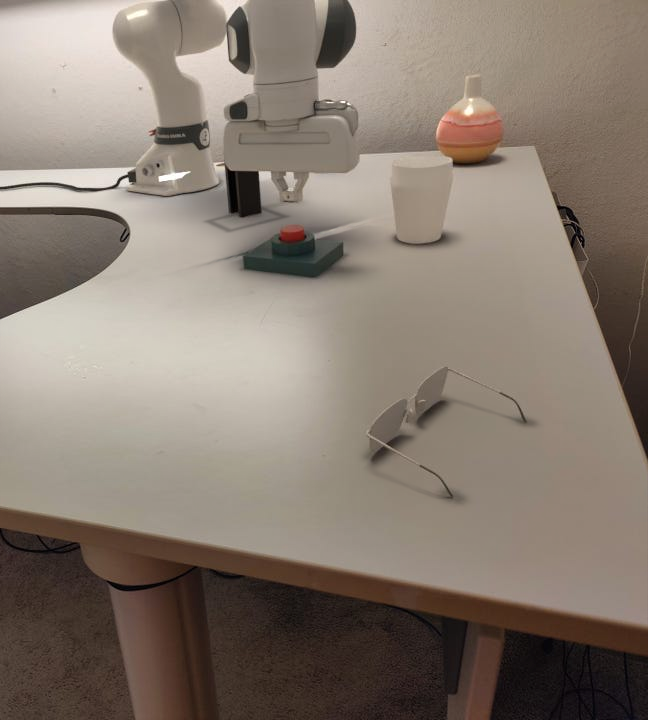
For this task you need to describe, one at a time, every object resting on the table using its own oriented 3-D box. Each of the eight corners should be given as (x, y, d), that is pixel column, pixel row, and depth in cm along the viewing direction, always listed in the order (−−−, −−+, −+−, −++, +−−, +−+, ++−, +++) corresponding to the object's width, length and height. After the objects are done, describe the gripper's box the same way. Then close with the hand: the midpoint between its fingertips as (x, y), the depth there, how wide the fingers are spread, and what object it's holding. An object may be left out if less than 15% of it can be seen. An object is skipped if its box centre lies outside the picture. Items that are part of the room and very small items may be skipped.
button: (276, 242, 101) (275, 231, 100) (287, 235, 103) (287, 224, 102) (297, 244, 99) (297, 233, 98) (308, 237, 101) (308, 226, 100)
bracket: (260, 208, 133) (256, 142, 127) (285, 216, 125) (281, 147, 119) (207, 221, 129) (200, 153, 123) (228, 231, 121) (222, 159, 115)
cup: (386, 246, 104) (388, 169, 98) (392, 229, 111) (393, 156, 106) (448, 246, 101) (453, 166, 95) (449, 228, 108) (454, 153, 103)
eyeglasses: (444, 393, 65) (450, 358, 63) (527, 426, 60) (536, 389, 58) (362, 461, 57) (365, 424, 55) (449, 506, 52) (457, 466, 50)
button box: (243, 269, 102) (241, 244, 101) (275, 248, 109) (273, 225, 108) (315, 278, 96) (314, 251, 94) (343, 255, 103) (343, 230, 101)
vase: (514, 157, 145) (523, 70, 137) (475, 170, 139) (482, 80, 131) (460, 152, 156) (465, 71, 148) (421, 164, 150) (425, 80, 142)
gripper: (367, 95, 88) (366, 198, 95) (236, 101, 100) (243, 193, 106) (348, 103, 84) (349, 211, 90) (213, 108, 95) (222, 204, 102)
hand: (291, 201), depth 98 cm, fingers closed
